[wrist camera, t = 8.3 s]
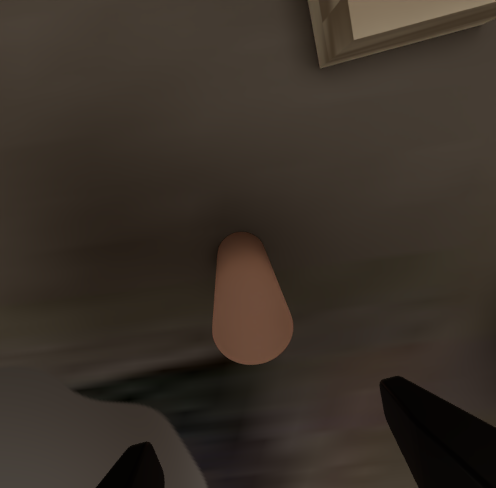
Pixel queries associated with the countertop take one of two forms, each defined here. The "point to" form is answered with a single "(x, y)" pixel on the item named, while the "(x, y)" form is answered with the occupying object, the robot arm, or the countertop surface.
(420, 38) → the block
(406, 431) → the robot arm
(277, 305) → the dowel
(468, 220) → the countertop surface
